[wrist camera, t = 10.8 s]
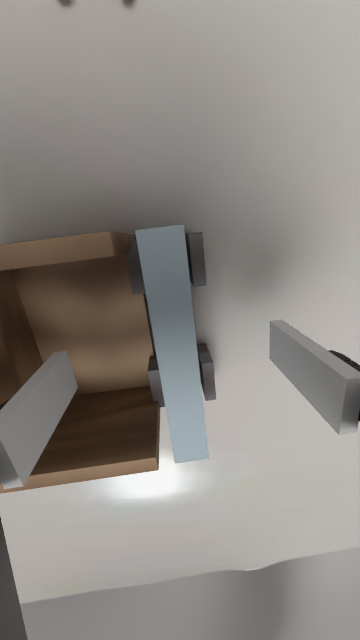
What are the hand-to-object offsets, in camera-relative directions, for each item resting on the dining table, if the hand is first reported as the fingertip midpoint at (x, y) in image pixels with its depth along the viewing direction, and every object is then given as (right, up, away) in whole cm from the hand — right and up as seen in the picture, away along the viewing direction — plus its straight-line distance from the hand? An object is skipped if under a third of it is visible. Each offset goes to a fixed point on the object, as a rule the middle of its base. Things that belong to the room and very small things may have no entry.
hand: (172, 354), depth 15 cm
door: (0, +2, +8) cm, 8 cm away
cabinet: (-6, +2, +8) cm, 10 cm away
